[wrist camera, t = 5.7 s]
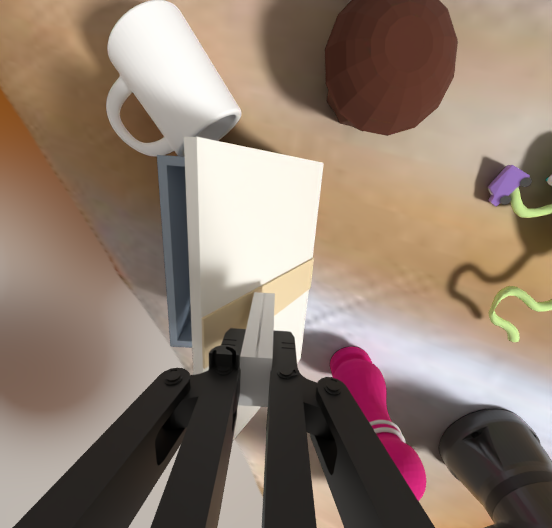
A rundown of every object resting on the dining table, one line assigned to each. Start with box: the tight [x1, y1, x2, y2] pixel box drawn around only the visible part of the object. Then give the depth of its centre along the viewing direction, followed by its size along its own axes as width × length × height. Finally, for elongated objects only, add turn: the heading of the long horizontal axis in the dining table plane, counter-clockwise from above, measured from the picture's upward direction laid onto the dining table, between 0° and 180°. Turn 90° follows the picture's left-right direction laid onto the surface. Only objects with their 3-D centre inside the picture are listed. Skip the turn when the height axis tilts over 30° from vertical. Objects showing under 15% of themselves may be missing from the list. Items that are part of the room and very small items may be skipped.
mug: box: [106, 0, 241, 157], centre depth 26 cm, size 12×10×8 cm
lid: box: [184, 137, 323, 440], centre depth 20 cm, size 21×14×1 cm
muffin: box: [325, 0, 458, 135], centre depth 25 cm, size 12×11×10 cm
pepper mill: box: [330, 347, 426, 501], centre depth 32 cm, size 7×7×20 cm
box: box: [157, 155, 192, 348], centre depth 31 cm, size 20×14×9 cm
